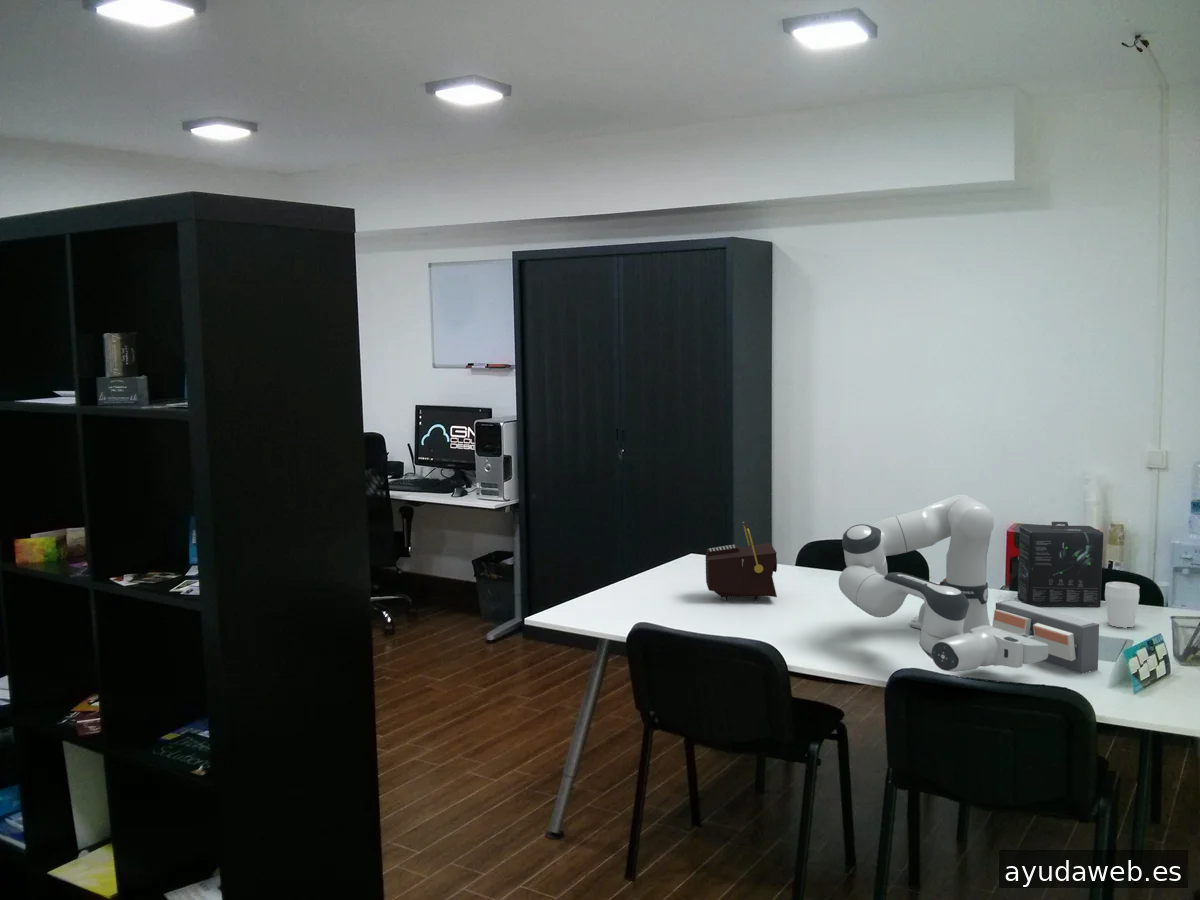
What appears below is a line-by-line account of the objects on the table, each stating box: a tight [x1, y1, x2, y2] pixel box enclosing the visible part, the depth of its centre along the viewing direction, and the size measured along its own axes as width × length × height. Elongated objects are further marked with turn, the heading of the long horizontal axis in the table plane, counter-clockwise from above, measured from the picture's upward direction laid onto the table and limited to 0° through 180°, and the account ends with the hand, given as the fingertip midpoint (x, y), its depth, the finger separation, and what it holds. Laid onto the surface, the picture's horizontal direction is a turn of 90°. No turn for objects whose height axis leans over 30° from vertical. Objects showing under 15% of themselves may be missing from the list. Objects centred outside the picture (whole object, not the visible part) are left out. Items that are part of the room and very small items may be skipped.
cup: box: [1104, 581, 1140, 629], centre depth 298 cm, size 9×9×12 cm
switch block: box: [995, 599, 1100, 675], centre depth 274 cm, size 12×28×12 cm, turn 26°
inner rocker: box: [991, 609, 1032, 635], centre depth 276 cm, size 3×12×7 cm, turn 26°
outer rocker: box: [1033, 623, 1077, 661], centre depth 264 cm, size 3×12×7 cm, turn 26°
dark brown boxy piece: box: [705, 521, 778, 602], centre depth 339 cm, size 16×23×25 cm
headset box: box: [1017, 521, 1104, 608], centre depth 324 cm, size 22×12×26 cm, turn 84°
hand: (1030, 637), depth 259 cm, fingers closed
